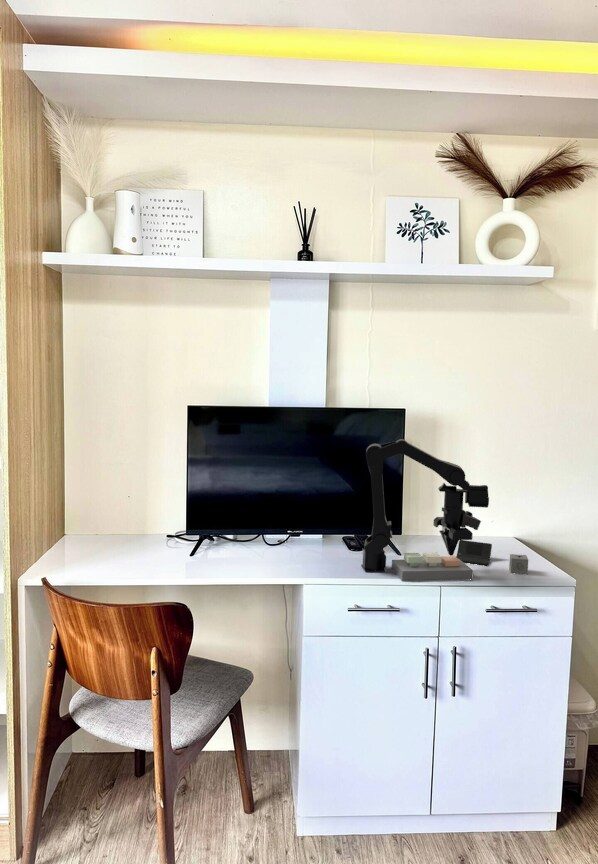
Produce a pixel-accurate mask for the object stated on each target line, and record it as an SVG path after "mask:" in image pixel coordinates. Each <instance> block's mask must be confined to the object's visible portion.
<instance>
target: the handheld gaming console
mask: <svg viewBox="0 0 598 864" xmlns="http://www.w3.org/2000/svg"><path fill="white" fill-rule="evenodd" d="M492 547H493V545H492V543H490V542H489V543H488V542H482V541H481V542H480V541H473V540H459V541H458V545H457V553H456V556H455V557H457V558H458V559H460V560H461V561H462V562H463V563H465V564H467V563H470V564H469V565H474V564H477V565H476V566H483V565H484V566H485V567H488V566H487V565H489V564H490V561H491V554H492Z"/></svg>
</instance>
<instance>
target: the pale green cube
mask: <svg viewBox="0 0 598 864" xmlns="http://www.w3.org/2000/svg"><path fill="white" fill-rule="evenodd" d="M422 556H423V555H421V553H419V552H404V553H403V560H404V559H405V560H406V561H407V562H408V566H409V567H418V563H423V557H422Z"/></svg>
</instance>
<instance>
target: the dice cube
mask: <svg viewBox="0 0 598 864" xmlns="http://www.w3.org/2000/svg"><path fill="white" fill-rule="evenodd" d="M508 565H509V566H508V570H509V572H510V574H511V573H515V574H514V575H523V574H527V575H528V573H529V572H528V571H529V558H528V556H527V554H516V553H515V554H514V553H510V554H509V564H508Z"/></svg>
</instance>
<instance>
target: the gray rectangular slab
mask: <svg viewBox="0 0 598 864" xmlns="http://www.w3.org/2000/svg"><path fill="white" fill-rule="evenodd" d="M459 560H460V559H459ZM391 570H392V571H393V572H394V573H395V575H396V576H397V575H398V576H397V577H398V578H399V579H400V581H402V582H413V581H414V582H415V581H417V582H421V581H427V582H428V581H468V580H469V581H472V580H473V575H474V574H473V573H474V572H473V571H474V570H473V568H471V567H470V566H468V565H467V563H463V562H462V561H461V560H460V566H445V565H443V564H442V563H437V566H428V565H427V562H426V561H425V560H424V559H423V563H418V567H409V566H408V562H407V561H406V560H405V559H404V558H403V559H391ZM470 579H471V580H470Z"/></svg>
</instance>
